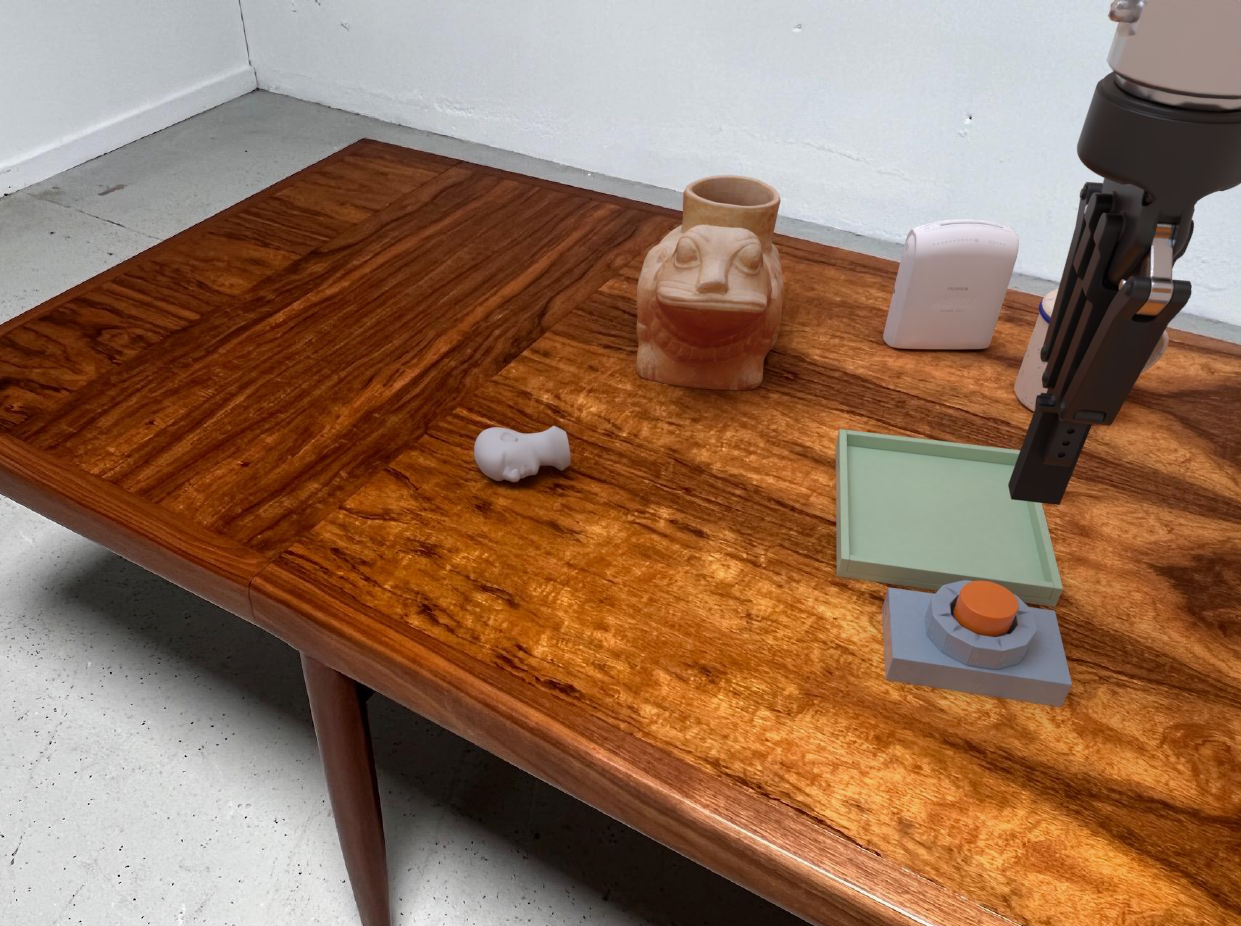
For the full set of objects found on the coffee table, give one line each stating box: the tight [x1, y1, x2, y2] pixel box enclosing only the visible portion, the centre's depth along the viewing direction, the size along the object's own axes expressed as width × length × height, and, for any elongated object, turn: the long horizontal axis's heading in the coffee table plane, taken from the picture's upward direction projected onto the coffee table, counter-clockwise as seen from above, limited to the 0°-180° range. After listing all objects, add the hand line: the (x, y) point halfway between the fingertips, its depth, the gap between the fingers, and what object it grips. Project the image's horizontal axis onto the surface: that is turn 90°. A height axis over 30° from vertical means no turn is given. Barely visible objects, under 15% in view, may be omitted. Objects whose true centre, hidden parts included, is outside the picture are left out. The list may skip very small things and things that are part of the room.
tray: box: [834, 428, 1064, 608], centre depth 84 cm, size 15×17×2 cm
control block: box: [881, 580, 1073, 708], centre depth 72 cm, size 11×7×4 cm, turn 77°
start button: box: [954, 581, 1019, 637], centre depth 70 cm, size 4×4×2 cm
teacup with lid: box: [1013, 287, 1170, 413], centre depth 94 cm, size 12×9×12 cm
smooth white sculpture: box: [473, 425, 572, 483], centre depth 88 cm, size 4×8×5 cm
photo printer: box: [882, 218, 1020, 350], centre depth 101 cm, size 10×4×12 cm, turn 88°
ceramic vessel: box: [635, 174, 786, 391], centre depth 101 cm, size 14×26×15 cm, turn 167°
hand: (1033, 494), depth 64 cm, fingers closed
